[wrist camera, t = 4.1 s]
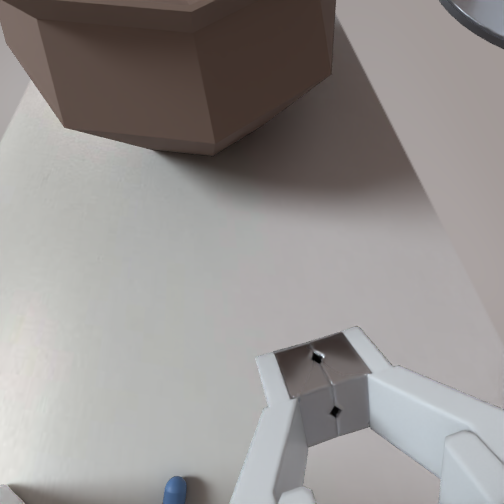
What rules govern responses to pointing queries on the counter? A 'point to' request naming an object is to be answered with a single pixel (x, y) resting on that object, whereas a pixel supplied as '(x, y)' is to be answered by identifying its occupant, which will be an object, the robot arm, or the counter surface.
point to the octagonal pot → (171, 64)
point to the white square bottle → (8, 496)
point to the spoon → (175, 491)
